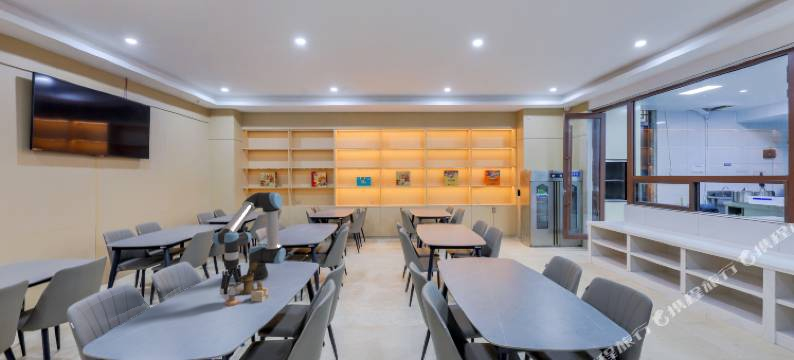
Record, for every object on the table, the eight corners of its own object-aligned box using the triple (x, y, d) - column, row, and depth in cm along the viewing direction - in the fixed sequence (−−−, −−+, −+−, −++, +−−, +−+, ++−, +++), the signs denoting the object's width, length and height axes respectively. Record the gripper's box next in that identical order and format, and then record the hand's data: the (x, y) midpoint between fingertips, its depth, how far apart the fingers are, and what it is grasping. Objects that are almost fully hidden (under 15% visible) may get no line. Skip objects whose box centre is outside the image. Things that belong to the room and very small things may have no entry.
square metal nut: (229, 288, 187) (229, 282, 187) (243, 289, 186) (243, 282, 186) (219, 294, 178) (219, 287, 178) (234, 295, 177) (234, 288, 177)
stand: (257, 296, 193) (257, 279, 193) (268, 297, 192) (268, 279, 192) (251, 301, 186) (251, 283, 186) (262, 301, 185) (262, 283, 185)
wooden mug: (262, 287, 208) (261, 261, 208) (249, 295, 195) (248, 267, 195) (250, 287, 210) (250, 261, 210) (236, 294, 197) (236, 266, 196)
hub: (230, 300, 186) (230, 287, 186) (241, 301, 186) (241, 288, 186) (222, 305, 179) (222, 292, 179) (233, 306, 179) (233, 292, 178)
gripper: (237, 253, 193) (237, 289, 194) (213, 263, 172) (213, 303, 172) (248, 254, 193) (248, 289, 193) (225, 264, 171) (225, 303, 171)
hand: (231, 296), depth 182 cm, fingers closed on square metal nut, 9 cm apart
